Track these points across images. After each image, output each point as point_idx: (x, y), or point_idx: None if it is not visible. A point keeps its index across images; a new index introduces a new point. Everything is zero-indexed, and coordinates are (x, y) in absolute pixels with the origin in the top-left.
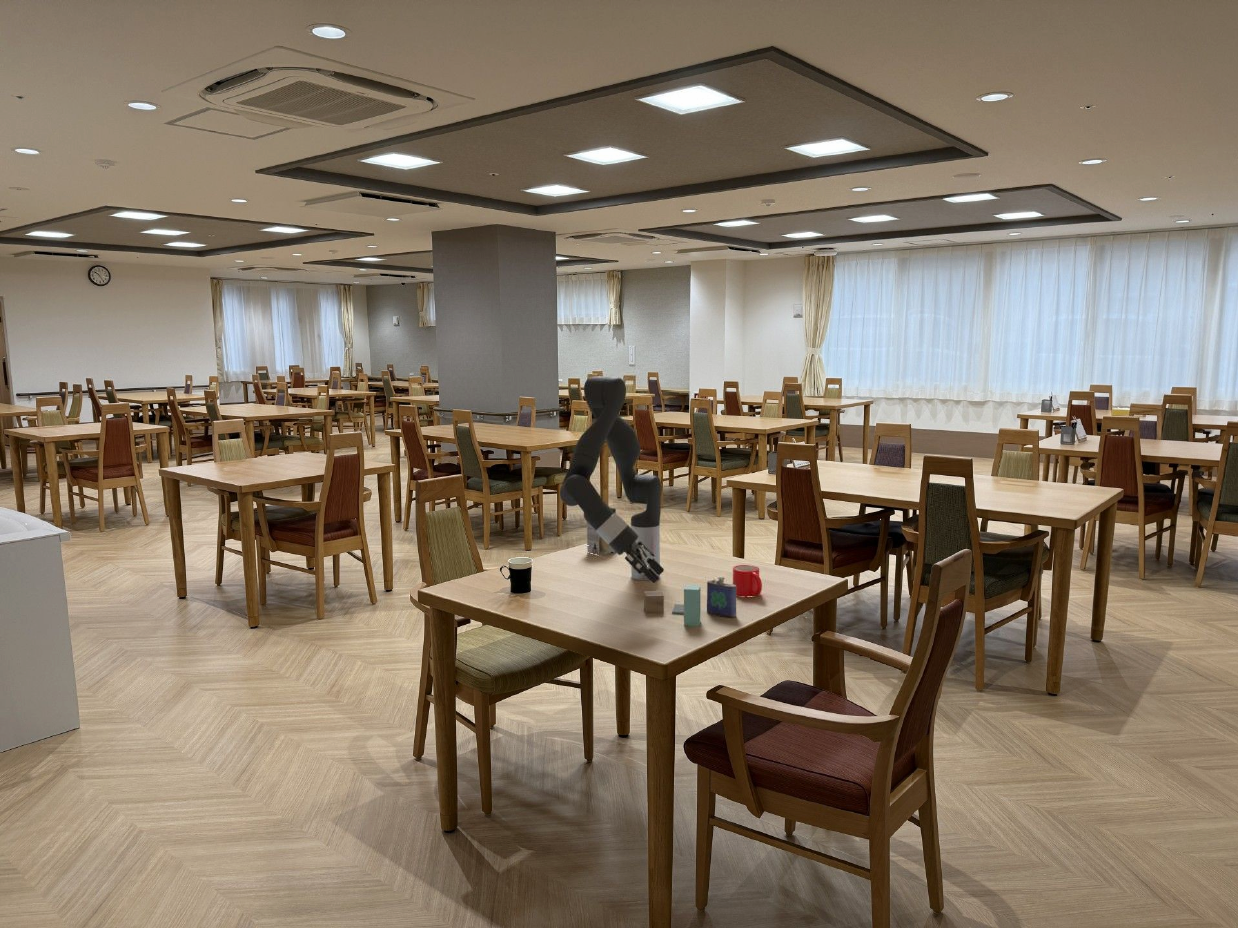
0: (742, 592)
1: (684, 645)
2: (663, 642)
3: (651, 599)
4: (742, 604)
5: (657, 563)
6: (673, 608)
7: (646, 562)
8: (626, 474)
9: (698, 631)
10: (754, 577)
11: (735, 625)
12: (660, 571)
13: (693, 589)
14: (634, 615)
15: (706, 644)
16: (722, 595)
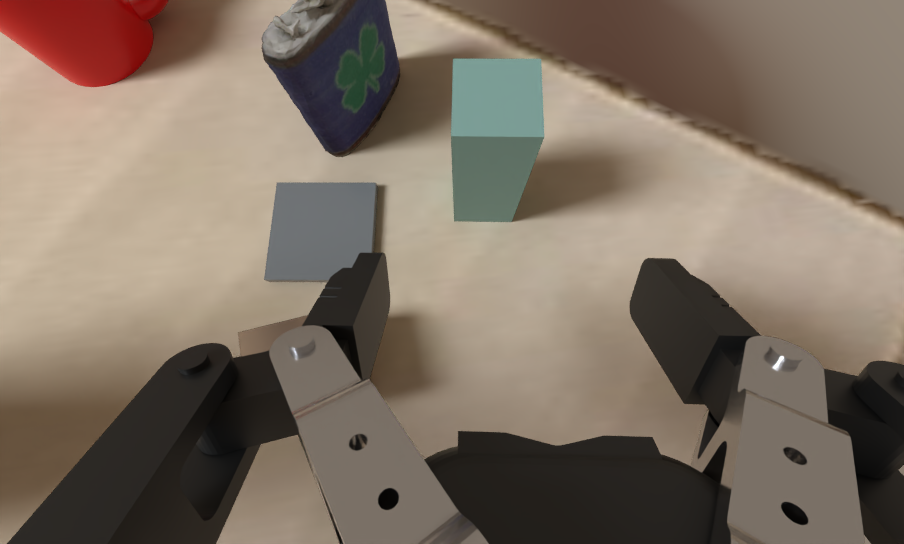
0: (134, 39)
1: (731, 198)
2: (723, 274)
3: None
4: (242, 49)
5: (364, 298)
6: (325, 279)
7: (740, 393)
8: None
9: (569, 166)
10: None
11: (480, 58)
12: (383, 284)
13: (538, 86)
14: None
15: (697, 130)
16: (369, 34)
